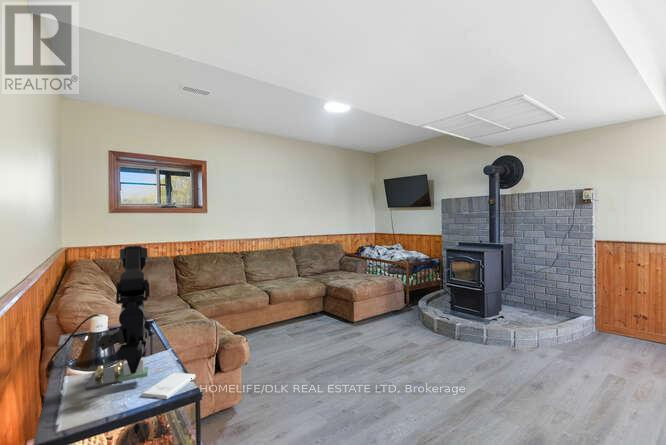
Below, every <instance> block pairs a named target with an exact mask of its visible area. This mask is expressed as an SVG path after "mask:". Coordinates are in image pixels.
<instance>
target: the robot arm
mask: <svg viewBox="0 0 666 445" xmlns="http://www.w3.org/2000/svg"><path fill="white" fill-rule="evenodd" d="M148 258H149V257H148V248H147V247H143V246H142V245H138V244H137V245H127V246H124V248H121V249H119V261H120V262H122V268H123V269H124V272H123V273H121V274H120V275H119V281H117V282H116V292H115V293H116V298H115V304H116V305H121V306H120V308H121V310H120V313H119V317H118V322H119V324H120V326H119V328H116V329H114V330H112V331H109V332H107V333H105V334H103V335H100V337H99V338H97V347H99V348H101V351H104V350H107V349H108V348H110V347H112V346H114V345H116V344H118V345H120V346H119V347H117V349H116V351H115V361H121V360H125V361H127V363H128V366H129V369H130V372H131V374H134V373H136V370H137V368H138V365H139V362H140V360H141V358H143V357H144V356H146V355H147V352H148V348H146V346H147V341H146V339H149V338H150V337H151V336H152V324H151V323H150V320H147V314H146V313H145V302H146V301H148V298H150V282H149V280H148V279H146V278H145V273H144V272H143V269H144V268H145V266H146V261H147V260H148ZM144 301H145V302H144Z"/></svg>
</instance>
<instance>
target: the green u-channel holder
mask: <svg viewBox="0 0 666 445" xmlns="http://www.w3.org/2000/svg"><path fill="white" fill-rule="evenodd" d="M122 365H123V367H124V371H122V372H121V374H120V377H119V382H122V381H123V382H126V381H131V380H135V379H140V378H141V379H142V378H145V377H148V374H149V373H148V372H149V366H145V357H144V356H142V357H141V360H140V362H139V365H138V368H137V370H136V373H134V374H131V372H130V369H129V366H128V363H127V360H124V361H123V363H122Z"/></svg>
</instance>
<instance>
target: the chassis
mask: <svg viewBox="0 0 666 445" xmlns="http://www.w3.org/2000/svg"><path fill="white" fill-rule="evenodd" d="M122 371H124V367H123V362H122V361H119V362H116V365H114V366H109V367H108V366H107V367H104V365H103V364H102V365H98V366H97V369H96V370H95V371H94V373H93V375H92V377H91V378H90V380H89V381H88V382H87V385H86V386H85V391H89V390H93V389H97V388H103V387H108V386H113V385H112V384H114V385H117V383H119V384H123V383H124V381H122V382H123V383H122V382H119V377H120V374H121V372H122Z"/></svg>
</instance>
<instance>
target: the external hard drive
mask: <svg viewBox="0 0 666 445" xmlns="http://www.w3.org/2000/svg"><path fill="white" fill-rule="evenodd" d="M191 378H192V379H191ZM195 379H196V374H195V373H185V372H172V373H170V374H168V375H167V376H166V377H164V378H163V379H161V380H160V381H158V382H157V383H155V384H154V385H152V386H151V387H149V388H148V389H146V390H144V391H143V392H142V393H141V397H143V398H156V399H162V400H168V399H169V398H171V397H173V395H175V394H176V393H177V392H179V391H180V390H181V389H183V388H184V387H186V385H188V384H190V383H191V382H192V381H193V380H195ZM191 380H192V381H191ZM190 381H191V382H190Z"/></svg>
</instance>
